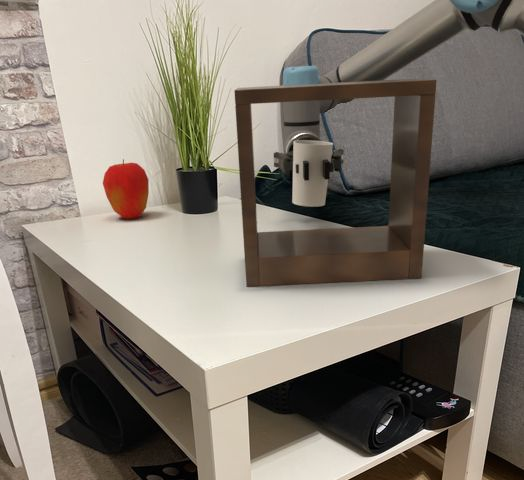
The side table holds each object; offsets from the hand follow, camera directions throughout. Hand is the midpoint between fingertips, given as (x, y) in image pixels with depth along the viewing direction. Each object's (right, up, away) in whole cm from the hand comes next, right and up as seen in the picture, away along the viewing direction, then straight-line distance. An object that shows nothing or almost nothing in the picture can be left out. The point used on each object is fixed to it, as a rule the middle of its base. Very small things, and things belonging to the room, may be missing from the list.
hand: (316, 171), depth 93 cm
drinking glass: (-1, -3, +8) cm, 8 cm away
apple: (-37, -1, +30) cm, 48 cm away
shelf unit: (+1, -17, -8) cm, 18 cm away
